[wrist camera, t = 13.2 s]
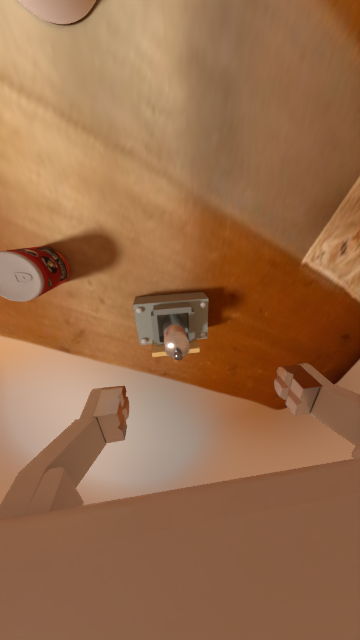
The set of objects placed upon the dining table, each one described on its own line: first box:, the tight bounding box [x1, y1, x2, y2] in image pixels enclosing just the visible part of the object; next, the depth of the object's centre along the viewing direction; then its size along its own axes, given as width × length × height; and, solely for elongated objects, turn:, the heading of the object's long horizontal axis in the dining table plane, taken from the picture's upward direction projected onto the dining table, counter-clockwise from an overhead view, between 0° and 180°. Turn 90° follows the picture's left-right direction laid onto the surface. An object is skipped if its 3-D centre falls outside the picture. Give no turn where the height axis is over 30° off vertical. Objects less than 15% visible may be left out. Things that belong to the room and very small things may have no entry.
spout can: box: [163, 314, 190, 360], centre depth 35 cm, size 4×4×11 cm
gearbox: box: [133, 292, 208, 357], centre depth 40 cm, size 10×16×10 cm, turn 92°
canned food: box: [0, 247, 70, 301], centre depth 32 cm, size 8×8×11 cm
